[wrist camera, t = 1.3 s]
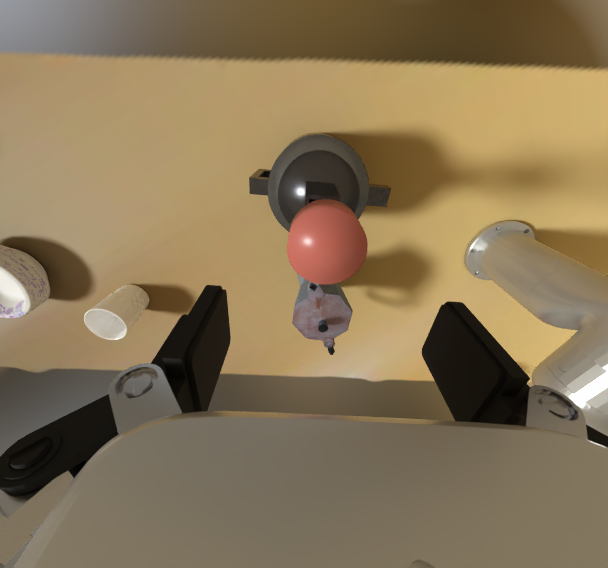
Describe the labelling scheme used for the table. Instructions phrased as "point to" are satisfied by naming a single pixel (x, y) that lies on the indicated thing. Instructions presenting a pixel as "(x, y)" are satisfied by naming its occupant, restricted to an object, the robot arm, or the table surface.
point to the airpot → (316, 178)
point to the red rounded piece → (326, 242)
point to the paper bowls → (21, 283)
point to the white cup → (117, 312)
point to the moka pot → (321, 312)
